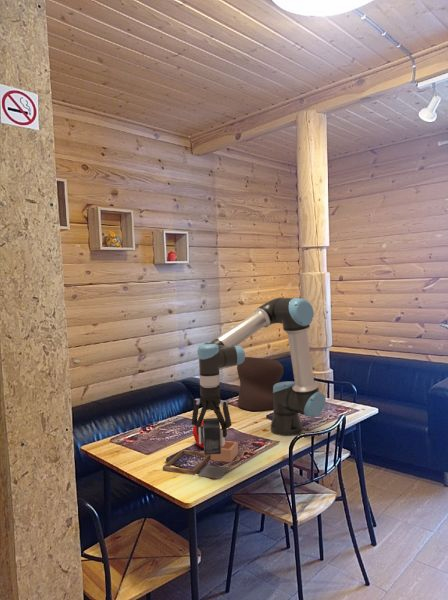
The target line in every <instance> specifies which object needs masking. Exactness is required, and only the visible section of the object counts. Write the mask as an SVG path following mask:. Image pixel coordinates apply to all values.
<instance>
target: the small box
mask: <svg viewBox="0 0 448 600" xmlns="http://www.w3.org/2000/svg"><path fill="white" fill-rule="evenodd" d="M220 429H221V425H220V423H219V420H218V418H217V417H211V418H210V417H209V418H203V441H204V448H203V452H205V455H208V454H221V443H220Z"/></svg>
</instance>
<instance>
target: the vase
mask: <svg viewBox="0 0 448 600" xmlns="http://www.w3.org/2000/svg"><path fill="white" fill-rule="evenodd" d="M236 370H237V375H238V378H239V392H238V396H237V397H238V399H237V406H238V407H239V408H241V409H242V410H245V411H251V412H264V411H271V410H274V406H273V386H274V385H275V384H276V383H280V382H281V379H282V377H283V375H284V373H285V372H284V371H285V370H284V366H283V365H282V363H280V361H278V360H277V359H272V358H271V359H269V358H260V357H251V356H245V360H244V362H243V363H241V364H239V365H236Z"/></svg>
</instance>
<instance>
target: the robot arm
mask: <svg viewBox="0 0 448 600" xmlns="http://www.w3.org/2000/svg"><path fill="white" fill-rule="evenodd" d="M314 312H315V311H314V308H313V306H312V304H311V303H310V301H308V300H307V299H305V298H300V297H276V298H273V299H271V300H268V301H267V302H265V303H263V304H262V305H260V306H258V307H257V308H256V309H254V312H253V313H252V314H250V315H249V316H247V317H246V318H245V319H243V320H242V321H240V322H238V323H236V325H234V326H233V327H231V328H230V329H228V330H227V331H225V332H224V333H222V334H221V335H219V336H217V337H216V338H215V339H213V340H212V341H210V342H201V344H200V345H198V346H197V347H198V348H197V356H198V365H199V367H198V368H199V369H198V370H199V387H200V388H199V392H200V393H199V394H200V398H195V399H192V403H193V409H192V417H191V425H192V426H194V425H195V426H196V429H197V435H199V444H202V443H203V442H204V441H203V425H201V423H202V421H203V419H205V415H206V412H207V411H212V412H214V414H215V416H216V418H218V420H219V424H220V440H221V447H223V446H224V445H225V441H226V437H227V436H228V429H230V427H231V426H232V420H231V416H230V412H229V401H228V400H227V399H226V400H222V399H221V386H220V379H221V378H220V369H222V368H228V367H234V366H235V367H237V365H239V364H241V363H243V362H244V360H245V357H246V352H245V350H244V348H243V347H242V346H241V345H240V344H242V343H243V342H244V341H246V340H247V339H248V338H250V337H251V336H253V335H254V334H257V332H258V331H260V330H261V329H262V328H268V327H270V326H272V325H275V324H282V329H283V331H284V332H285V333H286V334H287V339H288V345H289V346H288V347H289V354H290V359H291V366H292V367H291V368H292V374H293V379H294V381H279V382H278V383H276V384H275V385H274V386H273V406H274V409H273V415H272V419H271V423H270V431H271V433H273V434H275V435H277V436H278V435H279V436H297V435H299V434H301V433H302V432H303V424H302V420H301V418H300V415H301V416H302V415H303V416H305V417H308V418H309V417H310V418H316V417H318V416H320V415H321V414H322V413H323V411H324V410H325V407H326V396H325V394H324V393H323V392H321V391H319V384H318V383H317V382H315V379H314V372H313V366H312V358H311V351H310V345H309V344H310V343H309V337H308V330H309V329H310V327H311V325H310V324H311V323H312V321H313V319H314V316H315V314H314ZM200 404H201V405H202V407H201V411H200V413H199V408H200ZM220 405H221V407H222V411H221V407H220ZM222 412H223V413H222ZM198 415H199V416H198Z"/></svg>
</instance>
